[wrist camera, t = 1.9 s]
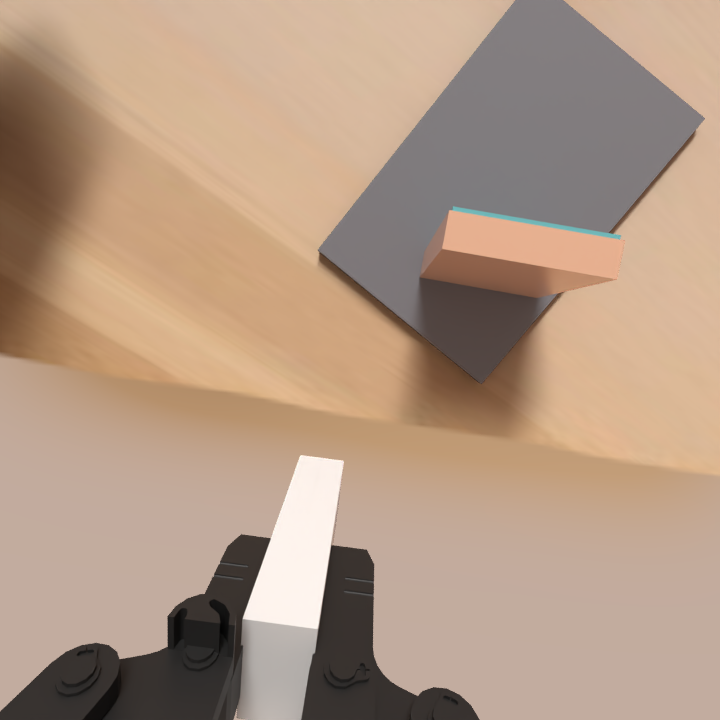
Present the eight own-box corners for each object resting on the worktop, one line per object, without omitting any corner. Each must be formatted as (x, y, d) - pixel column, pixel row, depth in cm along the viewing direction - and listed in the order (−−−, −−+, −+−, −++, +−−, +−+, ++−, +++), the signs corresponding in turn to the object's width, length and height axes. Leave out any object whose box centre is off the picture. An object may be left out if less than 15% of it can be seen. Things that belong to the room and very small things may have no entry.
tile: (536, 297, 37) (616, 279, 25) (419, 277, 37) (441, 248, 25) (542, 268, 36) (626, 235, 24) (425, 247, 37) (450, 204, 25)
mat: (319, 252, 38) (317, 249, 37) (530, -14, 36) (534, -24, 35) (478, 382, 38) (481, 383, 37) (695, 124, 36) (705, 118, 35)
